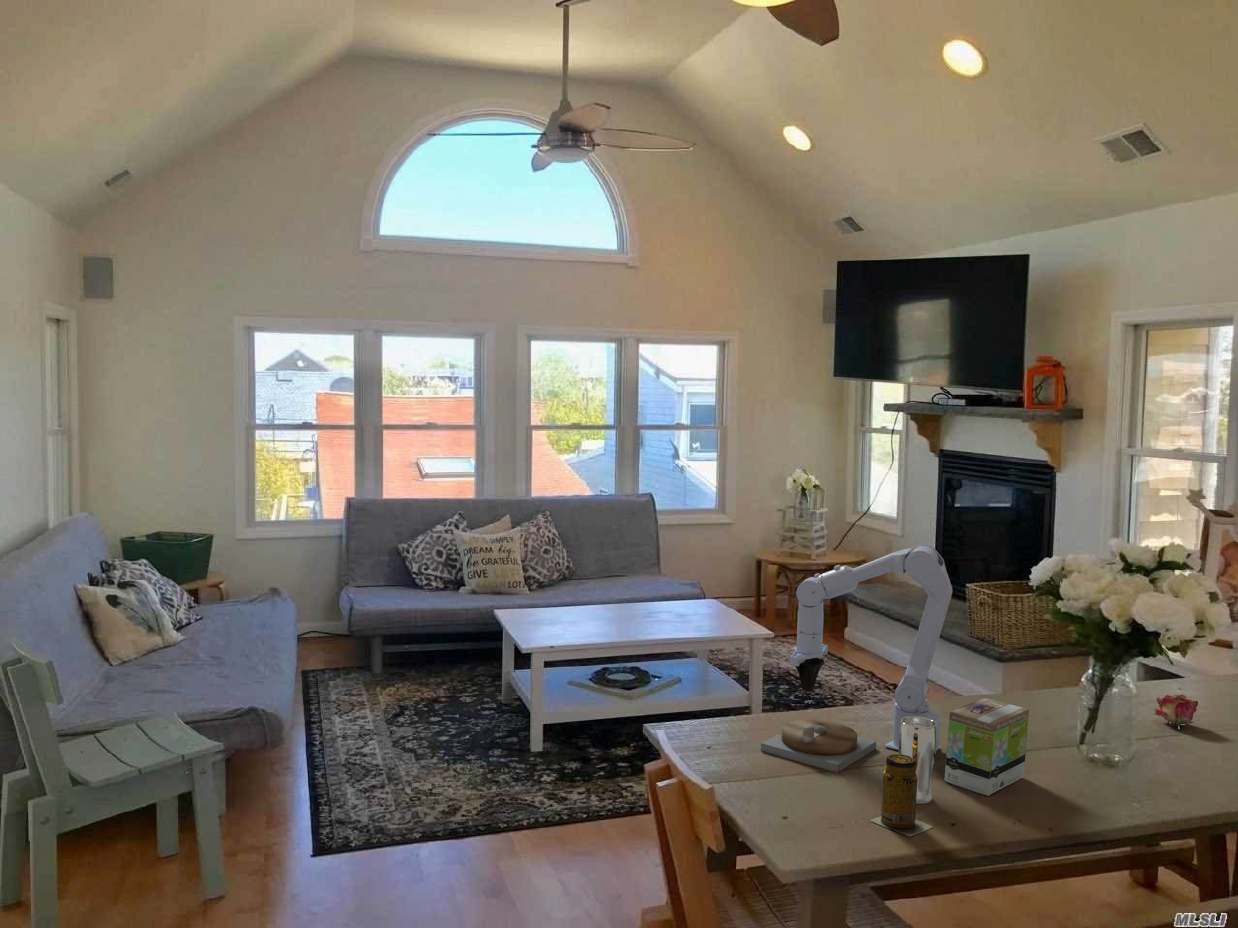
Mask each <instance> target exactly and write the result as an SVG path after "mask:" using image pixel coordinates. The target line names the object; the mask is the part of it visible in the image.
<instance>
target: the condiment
mask: <svg viewBox="0 0 1238 928" xmlns="http://www.w3.org/2000/svg"><path fill="white" fill-rule="evenodd" d="M882 773H883V774H882V787H881V800H880V801H881V803H880V804H881V806H880V816H878V817H874V818H872V819H870V822H872V823H875V824H876V825H880V826H882V827H884V828H886V829H889V830H893V831H894V832H897V833H899V834H901V835H905V836H907V837H913V836H917V835H919V834H921V833H924V832H925V831H927V830H930V829H932V828H934V826H932V825H930V824H927V823H926V822H925V821H920V820H918V819H917V817H916V812H917V804H916V796H917V775H916V761H915V759H913V758H912V757H910V756H907V755H903V754H899V753H893V754H889V755H887V756H886V758H885V769H884V770H883V772H882Z"/></svg>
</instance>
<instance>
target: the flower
mask: <svg viewBox="0 0 1238 928" xmlns="http://www.w3.org/2000/svg"><path fill="white" fill-rule="evenodd" d="M1156 698H1157V699H1156V702H1157V704H1158V706H1159V708H1160V709H1159V708H1156V707H1154V709H1153V710H1154V714H1155V715H1156V716H1159V717H1162V718H1164V720H1165V721H1166V720H1167V721H1168V722H1171V723H1176V727H1177V726H1179V727H1180V726H1181V724H1186V725H1187V726H1188V725H1189V726H1190V724H1193V723H1196V722H1199V719H1197V720H1195V721H1192V720H1193V717H1194V714H1195V713H1197V711H1198V710H1197V709H1198V708H1197V707H1198V706H1199V701H1198V700H1193V699H1188V698H1187V696H1186V695H1185V694H1175V695H1169V694H1166V695H1164V697H1160V696H1157V697H1156ZM1181 727H1182V726H1181Z"/></svg>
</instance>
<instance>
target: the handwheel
mask: <svg viewBox="0 0 1238 928" xmlns="http://www.w3.org/2000/svg"><path fill="white" fill-rule="evenodd" d="M781 733H782V741H783V743H784V744H786V745H787V746H789V747H791V748H793V749H795V750H798V751H801V752H805V753H811V754H818V755H839V754H845V753H848V752H851V751H853V750H855V749H856V747H857V737H859V736H858V732H857V731H855V730H854V729H853V728H851V727H850V726H847V725H844V724H842V723H837V722H835V721H829V720H824V719H799V720H792V721H789V722H787V723H786V724H784V725H783V726H782V728H781Z"/></svg>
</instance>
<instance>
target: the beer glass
mask: <svg viewBox="0 0 1238 928" xmlns="http://www.w3.org/2000/svg"><path fill="white" fill-rule="evenodd" d="M936 748H937V723H936V722H935V721H934V720H932V719H929V718H925V717H919V716H907V717H904V718H902V719H901V726H900V734H899V750H898V754H903V755H907V756H910V757H912V758H913V759H915V761H916V775H917V796H916V805H924V804H928V803H930V802H931V801H932V792H931V791H932V790H931V776H932V772H933V769H934V764H935V760H936V755H937V751H936Z"/></svg>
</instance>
